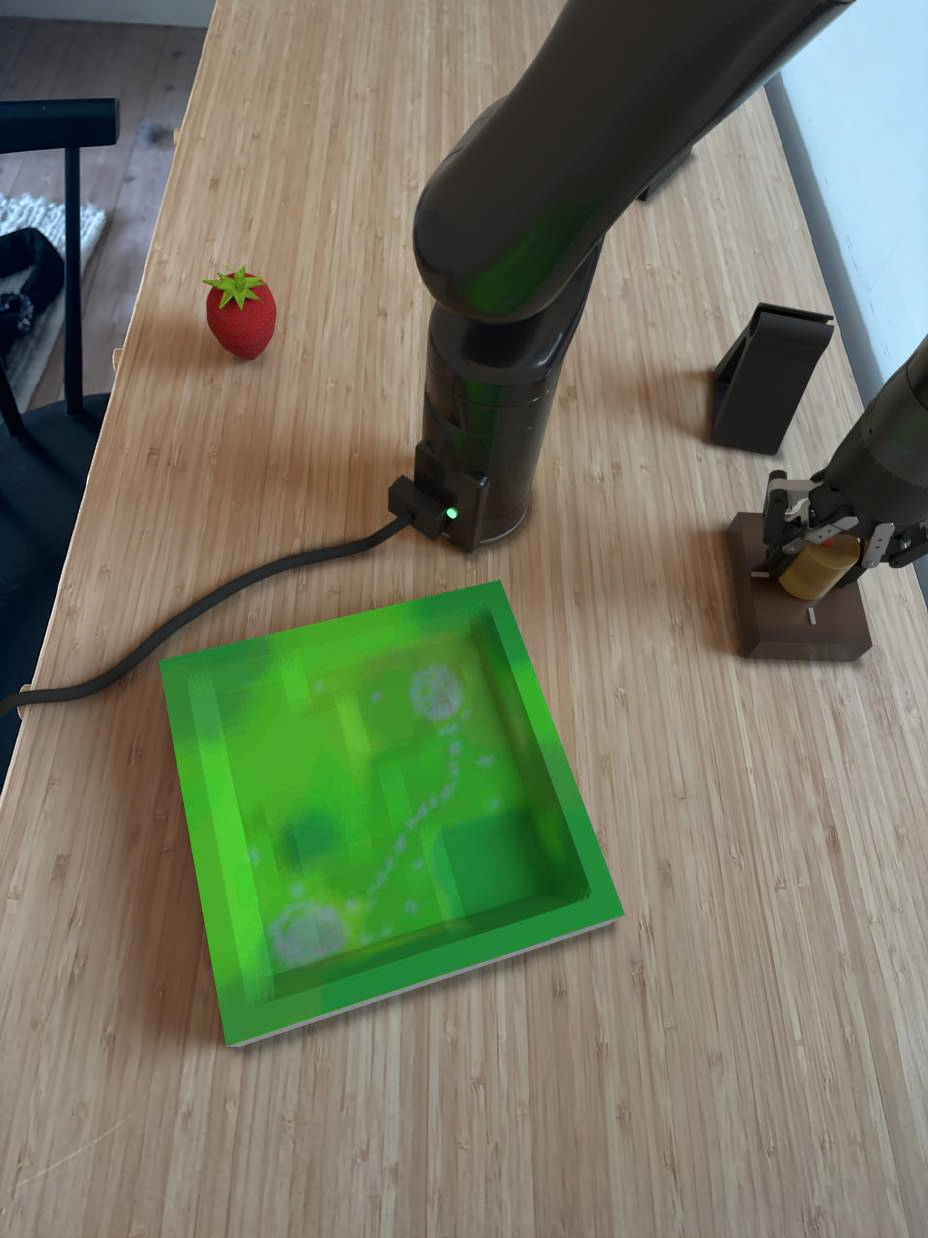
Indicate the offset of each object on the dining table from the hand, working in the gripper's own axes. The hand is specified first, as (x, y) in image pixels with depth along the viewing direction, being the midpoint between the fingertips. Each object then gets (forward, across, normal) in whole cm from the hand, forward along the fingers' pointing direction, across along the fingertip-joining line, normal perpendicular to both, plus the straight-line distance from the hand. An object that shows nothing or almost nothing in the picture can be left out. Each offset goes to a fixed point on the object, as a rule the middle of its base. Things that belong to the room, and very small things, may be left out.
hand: (805, 572), depth 69 cm
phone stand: (+3, -4, +19) cm, 19 cm away
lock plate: (+3, 0, 0) cm, 3 cm away
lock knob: (0, 0, 0) cm, 0 cm away
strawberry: (+4, -50, +15) cm, 52 cm away
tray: (+4, -30, -23) cm, 38 cm away
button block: (+3, -17, +52) cm, 55 cm away
